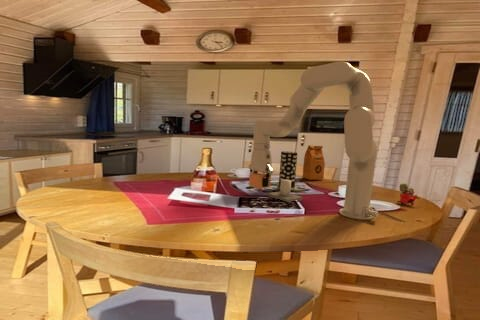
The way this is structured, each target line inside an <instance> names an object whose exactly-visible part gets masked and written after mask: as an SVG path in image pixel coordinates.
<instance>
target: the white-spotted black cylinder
mask: <svg viewBox="0 0 480 320" xmlns="http://www.w3.org/2000/svg"><path fill="white" fill-rule="evenodd" d="M297 162H298V152H297V151H295V152H294V151H284V150H282V151H281V152H280V163H279V174H278V175H279V176H278V177H279V178H278V189H279V190H278V191H280V186H281V180H282V179H286V180H291V192H290V193H294V192H295V189H296V187H295V186H296V175H297ZM293 191H294V192H293Z"/></svg>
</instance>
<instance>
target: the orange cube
mask: <svg viewBox="0 0 480 320" xmlns="http://www.w3.org/2000/svg"><path fill="white" fill-rule="evenodd" d="M265 174H266V173H265ZM263 178H264V177H263V173H262V172H258V173H251V172H250V173H249V181H248V182H249V183H248V185H249V187H252V188H256V189H259V190H260V189H267V188H271V183H272V179H271V178H272V175H271V176H270V178H269V181H268V186H267V187H263V186H262V183H263Z"/></svg>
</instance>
